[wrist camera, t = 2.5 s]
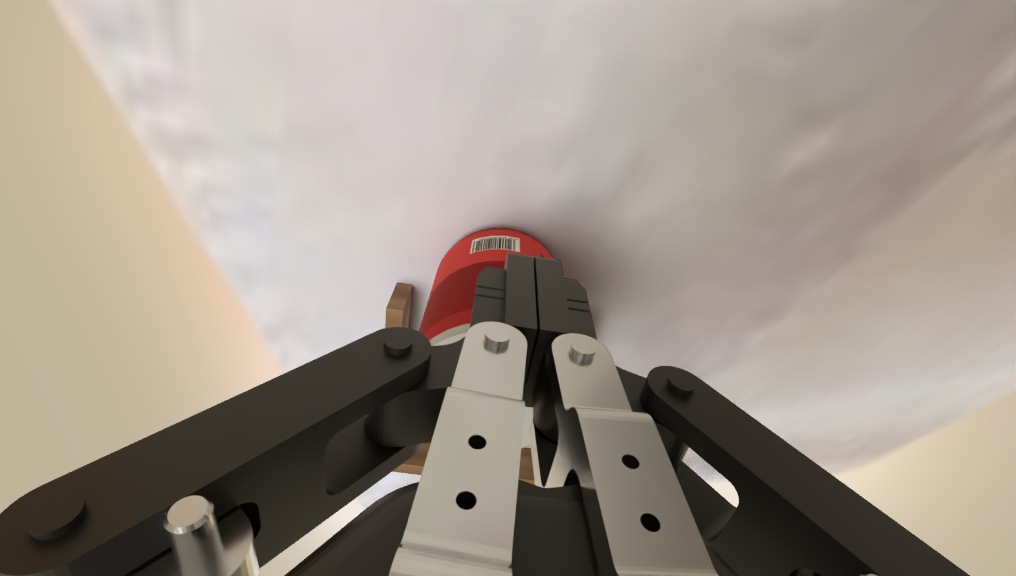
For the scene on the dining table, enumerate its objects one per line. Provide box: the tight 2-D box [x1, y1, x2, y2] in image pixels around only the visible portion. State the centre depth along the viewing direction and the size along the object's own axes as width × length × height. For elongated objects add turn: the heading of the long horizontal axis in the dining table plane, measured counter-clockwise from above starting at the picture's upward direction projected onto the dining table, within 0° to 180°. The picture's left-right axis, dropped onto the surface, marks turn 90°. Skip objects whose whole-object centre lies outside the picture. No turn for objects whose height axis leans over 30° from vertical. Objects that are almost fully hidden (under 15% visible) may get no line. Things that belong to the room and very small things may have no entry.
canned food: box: [419, 228, 554, 448], centre depth 27 cm, size 8×8×11 cm
